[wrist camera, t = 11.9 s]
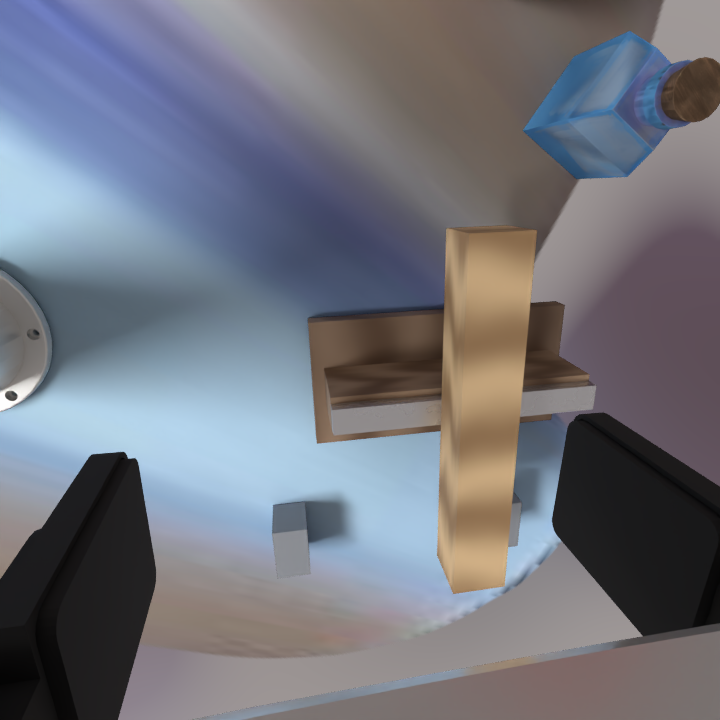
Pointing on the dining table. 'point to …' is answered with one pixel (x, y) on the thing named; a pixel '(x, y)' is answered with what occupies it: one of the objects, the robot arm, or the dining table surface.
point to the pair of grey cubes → (294, 537)
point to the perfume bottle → (621, 106)
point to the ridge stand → (422, 373)
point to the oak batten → (481, 398)
